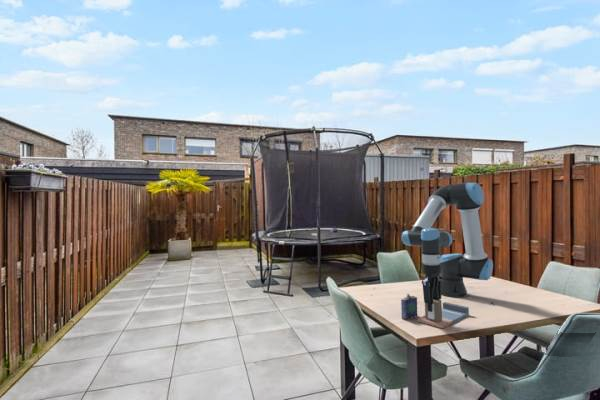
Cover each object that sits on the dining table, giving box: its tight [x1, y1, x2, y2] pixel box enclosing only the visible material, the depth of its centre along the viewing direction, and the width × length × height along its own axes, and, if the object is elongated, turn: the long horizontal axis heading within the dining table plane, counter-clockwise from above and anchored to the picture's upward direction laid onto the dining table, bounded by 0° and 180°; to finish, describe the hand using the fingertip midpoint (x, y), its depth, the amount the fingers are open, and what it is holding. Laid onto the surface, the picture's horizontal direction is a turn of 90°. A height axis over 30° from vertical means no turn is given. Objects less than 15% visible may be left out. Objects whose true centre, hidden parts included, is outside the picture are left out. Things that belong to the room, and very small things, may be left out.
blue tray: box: [442, 301, 470, 324], centre depth 141 cm, size 11×16×4 cm
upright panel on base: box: [417, 300, 453, 329], centre depth 133 cm, size 11×9×10 cm
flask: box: [400, 293, 418, 320], centre depth 141 cm, size 9×3×11 cm, turn 117°
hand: (433, 317), depth 132 cm, fingers closed on upright panel on base, 3 cm apart
